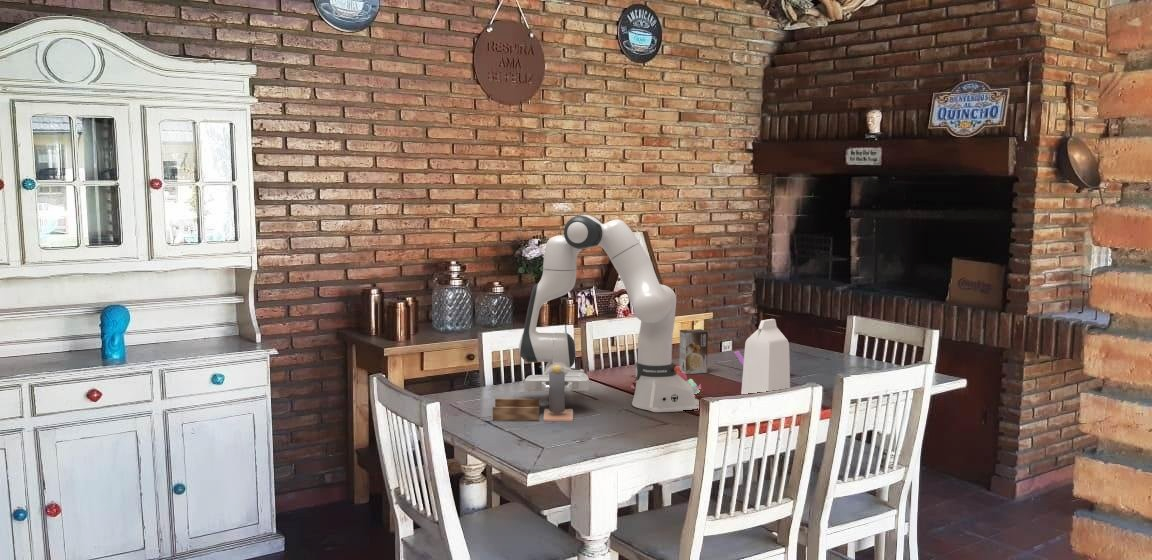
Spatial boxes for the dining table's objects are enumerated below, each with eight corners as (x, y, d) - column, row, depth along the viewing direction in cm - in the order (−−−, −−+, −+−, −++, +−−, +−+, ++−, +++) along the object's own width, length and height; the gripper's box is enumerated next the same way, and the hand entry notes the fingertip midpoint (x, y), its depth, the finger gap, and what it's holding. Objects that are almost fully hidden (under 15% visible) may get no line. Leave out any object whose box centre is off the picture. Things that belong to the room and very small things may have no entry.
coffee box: (700, 369, 347) (701, 328, 345) (707, 373, 341) (708, 331, 339) (678, 370, 344) (679, 329, 342) (685, 374, 338) (686, 332, 336)
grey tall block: (564, 408, 281) (564, 364, 279) (564, 412, 276) (564, 367, 275) (549, 408, 281) (549, 364, 279) (548, 412, 276) (549, 367, 274)
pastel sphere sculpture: (621, 393, 310) (621, 367, 309) (647, 379, 330) (648, 355, 329) (689, 402, 298) (690, 375, 297) (712, 387, 319) (713, 362, 318)
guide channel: (539, 411, 284) (539, 398, 284) (538, 420, 273) (538, 407, 273) (495, 410, 284) (495, 398, 284) (492, 420, 273) (492, 407, 273)
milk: (767, 400, 300) (770, 324, 297) (741, 394, 309) (743, 319, 306) (790, 395, 307) (793, 320, 304) (763, 389, 316) (765, 316, 313)
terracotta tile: (572, 410, 285) (572, 409, 285) (573, 421, 273) (573, 419, 273) (544, 410, 285) (544, 408, 285) (543, 421, 273) (543, 419, 273)
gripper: (525, 369, 290) (523, 378, 276) (588, 369, 290) (589, 379, 277) (525, 388, 291) (523, 398, 277) (588, 388, 291) (589, 399, 277)
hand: (556, 389), depth 277 cm, fingers closed on grey tall block, 5 cm apart
